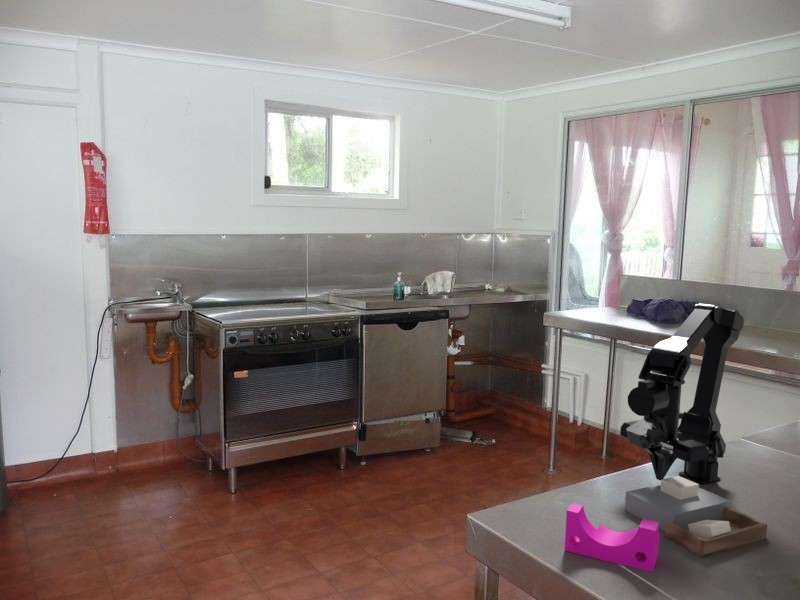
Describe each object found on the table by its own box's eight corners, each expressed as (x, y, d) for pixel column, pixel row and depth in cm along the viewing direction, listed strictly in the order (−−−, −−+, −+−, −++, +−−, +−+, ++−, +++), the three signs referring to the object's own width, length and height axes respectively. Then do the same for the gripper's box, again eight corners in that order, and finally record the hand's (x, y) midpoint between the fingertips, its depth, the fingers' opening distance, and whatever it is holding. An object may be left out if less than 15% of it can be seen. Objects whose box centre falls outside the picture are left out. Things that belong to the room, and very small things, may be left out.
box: (664, 537, 127) (665, 522, 127) (725, 521, 135) (727, 506, 135) (703, 558, 120) (704, 541, 119) (765, 539, 127) (767, 524, 127)
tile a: (710, 526, 122) (713, 540, 122) (728, 521, 124) (731, 534, 124) (687, 524, 126) (690, 538, 126) (706, 519, 129) (709, 532, 128)
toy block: (658, 557, 120) (661, 516, 119) (652, 572, 115) (655, 530, 114) (573, 536, 127) (575, 498, 126) (564, 550, 122) (566, 510, 121)
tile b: (660, 490, 139) (661, 479, 139) (677, 486, 142) (678, 475, 141) (680, 499, 135) (681, 488, 135) (697, 495, 137) (698, 484, 137)
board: (624, 510, 139) (626, 491, 138) (680, 497, 146) (681, 479, 146) (672, 535, 128) (673, 515, 128) (729, 520, 136) (730, 500, 135)
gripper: (603, 399, 146) (598, 470, 147) (673, 424, 129) (667, 502, 131) (641, 395, 150) (636, 462, 152) (713, 417, 134) (707, 493, 136)
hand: (659, 479), depth 143 cm, fingers closed
